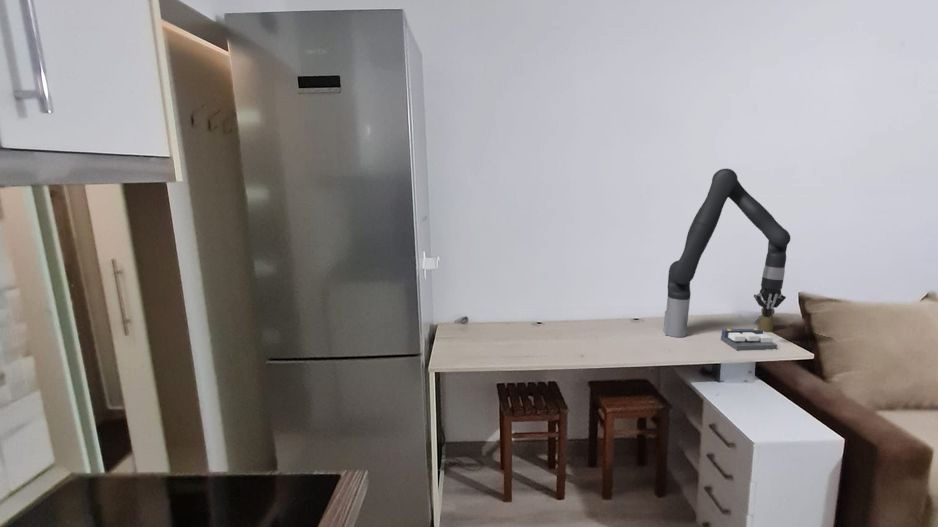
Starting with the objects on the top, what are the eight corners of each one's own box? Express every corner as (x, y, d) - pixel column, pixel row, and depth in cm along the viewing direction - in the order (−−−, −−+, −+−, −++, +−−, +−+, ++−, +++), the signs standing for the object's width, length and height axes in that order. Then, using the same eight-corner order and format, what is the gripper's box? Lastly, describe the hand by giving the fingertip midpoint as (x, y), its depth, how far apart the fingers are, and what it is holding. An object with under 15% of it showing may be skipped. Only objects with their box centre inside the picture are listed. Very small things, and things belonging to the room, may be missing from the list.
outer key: (761, 342, 209) (762, 338, 209) (754, 338, 213) (755, 334, 213) (772, 342, 209) (772, 337, 209) (765, 338, 214) (765, 333, 213)
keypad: (736, 350, 206) (738, 338, 205) (720, 339, 218) (722, 328, 217) (776, 349, 207) (778, 337, 206) (758, 339, 219) (759, 327, 218)
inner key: (734, 341, 208) (735, 336, 208) (728, 337, 212) (728, 332, 212) (745, 341, 208) (745, 336, 208) (738, 337, 213) (739, 332, 212)
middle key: (748, 340, 208) (748, 336, 208) (741, 336, 213) (742, 332, 212) (758, 340, 209) (759, 336, 208) (752, 336, 213) (752, 332, 213)
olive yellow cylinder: (774, 332, 227) (778, 309, 224) (760, 331, 228) (763, 308, 225) (769, 328, 232) (773, 305, 230) (755, 327, 234) (758, 304, 231)
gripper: (763, 278, 201) (756, 319, 205) (794, 279, 202) (787, 319, 206) (751, 274, 208) (745, 313, 212) (782, 274, 209) (775, 314, 213)
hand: (766, 316), depth 209 cm, fingers closed
